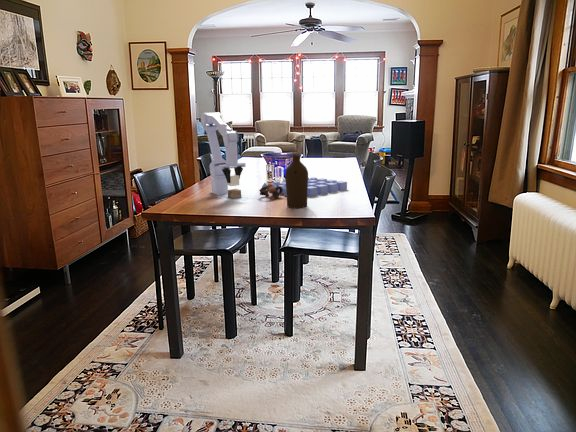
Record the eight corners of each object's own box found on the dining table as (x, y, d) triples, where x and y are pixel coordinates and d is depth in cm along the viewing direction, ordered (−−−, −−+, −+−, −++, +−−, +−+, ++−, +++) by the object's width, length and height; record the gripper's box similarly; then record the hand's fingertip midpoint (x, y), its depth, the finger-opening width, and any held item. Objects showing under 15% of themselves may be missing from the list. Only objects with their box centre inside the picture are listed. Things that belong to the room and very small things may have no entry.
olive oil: (312, 207, 208) (311, 153, 202) (291, 209, 204) (290, 154, 198) (302, 202, 217) (301, 151, 211) (282, 205, 213) (281, 152, 207)
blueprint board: (216, 197, 235) (216, 196, 235) (235, 194, 242) (235, 193, 242) (233, 202, 221) (233, 201, 221) (253, 199, 228) (253, 198, 228)
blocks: (299, 200, 226) (298, 190, 225) (259, 191, 252) (258, 182, 251) (347, 190, 247) (347, 181, 246) (305, 183, 273) (305, 175, 272)
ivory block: (227, 185, 230) (226, 175, 229) (234, 184, 232) (234, 174, 231) (231, 186, 226) (231, 176, 225) (239, 185, 229) (238, 175, 228)
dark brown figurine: (266, 202, 222) (259, 187, 223) (262, 207, 231) (256, 192, 232) (287, 194, 226) (280, 179, 227) (283, 199, 235) (276, 185, 236)
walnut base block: (227, 197, 232) (227, 189, 231) (236, 196, 235) (235, 188, 234) (232, 198, 228) (232, 191, 227) (241, 197, 231) (240, 189, 230)
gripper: (222, 157, 218) (224, 185, 222) (248, 155, 227) (249, 181, 230) (215, 156, 224) (217, 183, 227) (241, 153, 232) (242, 179, 236)
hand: (233, 182), depth 229 cm, fingers closed on ivory block, 4 cm apart
